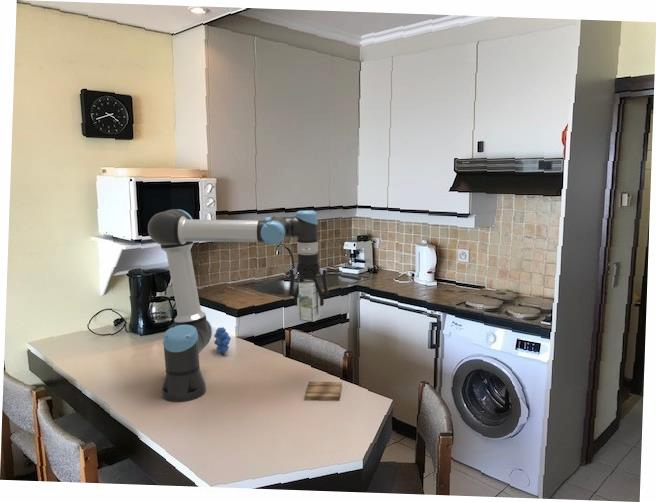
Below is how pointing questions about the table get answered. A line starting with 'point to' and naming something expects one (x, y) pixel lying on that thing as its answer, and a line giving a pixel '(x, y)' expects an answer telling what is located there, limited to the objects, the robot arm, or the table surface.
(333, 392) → the square wooden board
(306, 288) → the syrup box
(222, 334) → the grapes
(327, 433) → the table surface
